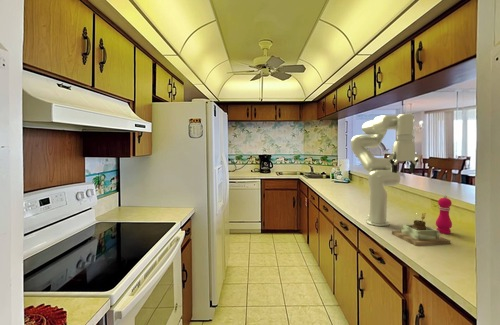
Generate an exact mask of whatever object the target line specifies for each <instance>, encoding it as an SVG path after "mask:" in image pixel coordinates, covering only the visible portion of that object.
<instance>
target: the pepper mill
mask: <svg viewBox="0 0 500 325" xmlns="http://www.w3.org/2000/svg"><path fill="white" fill-rule="evenodd" d="M437 204H438V209H439V215H438V217H437V218H436V221H435V225H436V227H437V228H436V230H439V234H444V235H450V234H451V232H452V231H451V228H452V227H453V223H452V220H451V218H450V211H451V206H452V200H451V199H450V198H448V195H446V194H443V196H442V197H441V198H439V199H438V201H437Z"/></svg>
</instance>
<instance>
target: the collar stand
mask: <svg viewBox="0 0 500 325" xmlns="http://www.w3.org/2000/svg"><path fill="white" fill-rule="evenodd" d="M425 226H426V230H416V229H413V224H401V230H392V231H391V235H393V236H395V237H396V238H400V240H403V241H405V242H407V243H409V244H411V245H413V246H432V245H450V244H451V240H450V239H447V238H445V237H444V236H443V237H442V236H440V233H439V230H437V228H433V227H430V226H429V225H428V226H427V225H425Z"/></svg>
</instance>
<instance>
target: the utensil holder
mask: <svg viewBox="0 0 500 325" xmlns="http://www.w3.org/2000/svg"><path fill="white" fill-rule="evenodd" d="M426 215H427V214H426V212H422V213H421V215H418V214H415V217H414V218H415V220H413V224H412V225H413V229H416V230H426V226H427V225H426V221H424V220H425V218H426Z"/></svg>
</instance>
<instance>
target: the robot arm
mask: <svg viewBox="0 0 500 325" xmlns="http://www.w3.org/2000/svg"><path fill="white" fill-rule="evenodd" d="M414 122H415V121H414V115H413V114H412V113H402V114H384V115H383V114H382V115H379V116H375V117H374V119H370V120H368V121H367V120H366V121H365V122H364V123H363V124H362V126H361V131H362V133H364V134H357V135H354V136H353V137H352V138H351V140H350V148H351V151H352V152H353V154H354V155H355V156H356V158H357V159H358V160H359V161H360V164H361V165H362V167H363V169H364V170H365V171H366V173H368V175H367V181H368V187H369V196H368V197H369V198H368V199H369V200H368V201H369V202H368V204H369V205H368V214H367V217H368V219H366V220H365V223H366V224H368V225H370V226H375V227H387V226H390V221H388V220H387V218H388V216H387V215H388V214H387V212H388V211H387V210H388V193H387V190H386V189H385V187H394V186H398V185H399V184H400V182H401V175H400V173H399V171H398V163H399V162H409V169H408V171H409V173H416V165H417V163H419V160H420V158H421V156H420V155H419V154H417V153H416V146H415V142H414V140H415V136H414ZM388 130H394V131H396V137H395V141H394V143H393V146H392V152H391V153H390V154H389V155H387V156H386V157H387V158H386V157H376V156H374V154H373V152H371V151H370V150H369V149H376V148H378V147H379V146H381V145H380V144H381V143H382V141H383V139H384V138H385V136H386V134H387V132H388Z"/></svg>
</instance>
